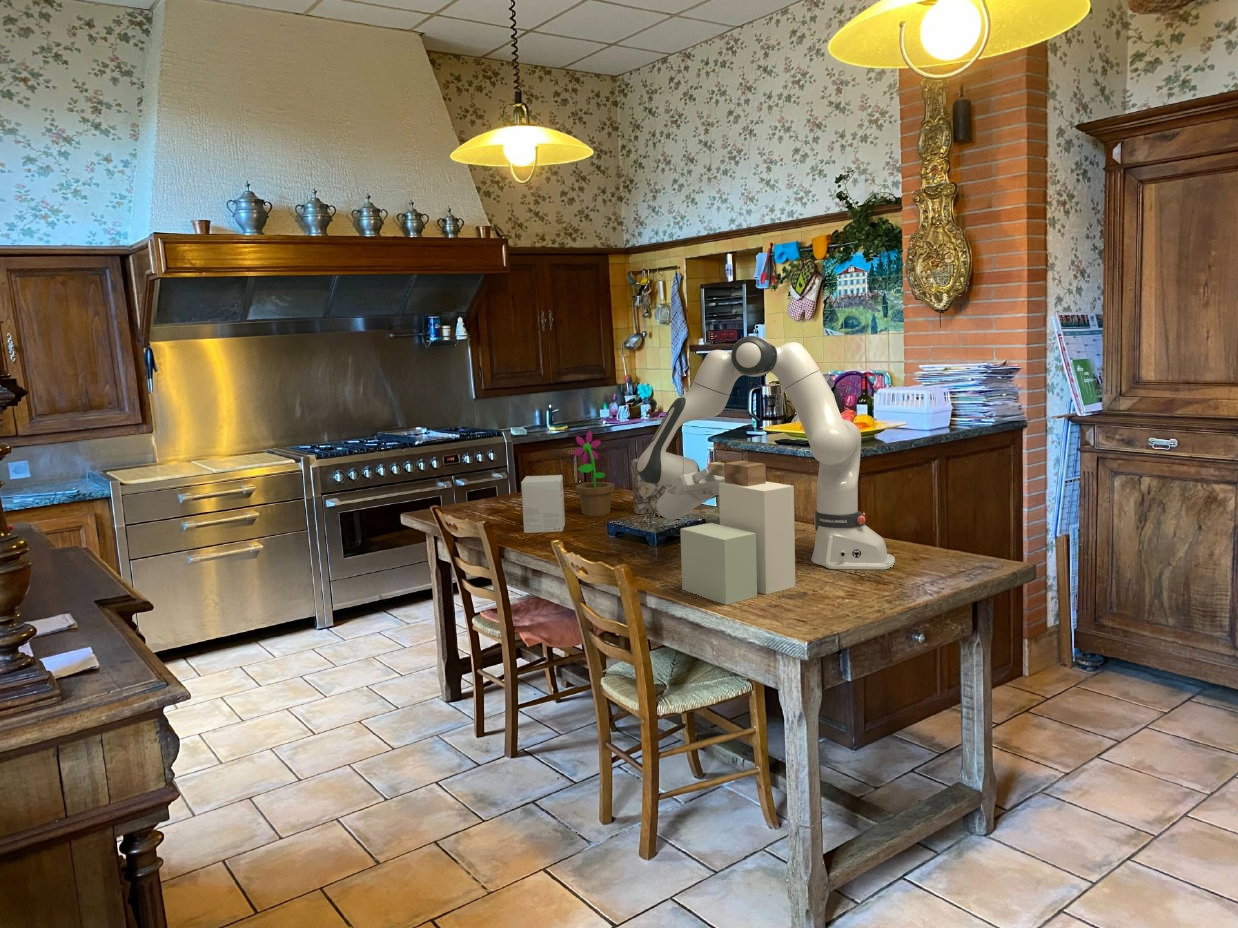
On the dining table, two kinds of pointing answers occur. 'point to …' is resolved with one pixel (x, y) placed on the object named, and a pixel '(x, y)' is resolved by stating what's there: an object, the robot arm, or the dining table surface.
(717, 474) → the mallet
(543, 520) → the supplement box
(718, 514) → the long grey stone
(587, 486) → the flowerpot
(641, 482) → the stone block
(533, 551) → the dining table surface
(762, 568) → the stand
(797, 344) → the robot arm
